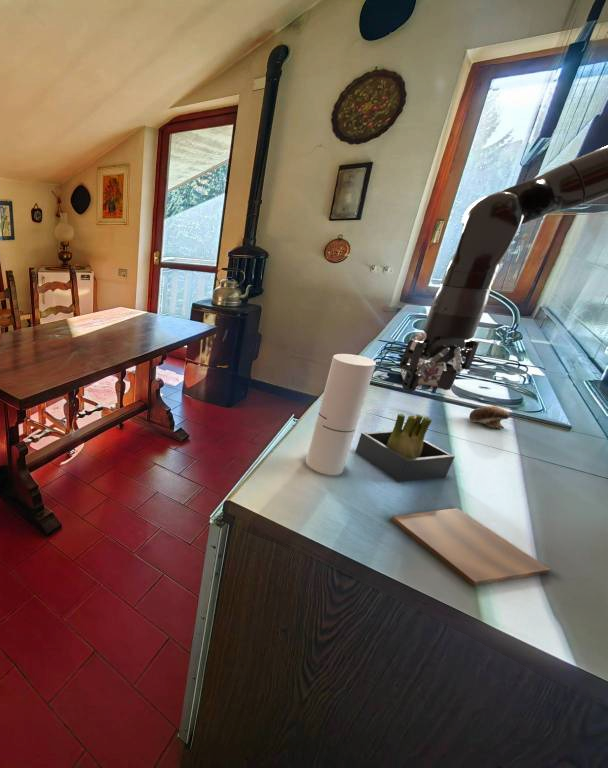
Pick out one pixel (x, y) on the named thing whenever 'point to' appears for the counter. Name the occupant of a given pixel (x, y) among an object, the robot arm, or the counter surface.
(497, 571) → the board
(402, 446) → the fennel bulb
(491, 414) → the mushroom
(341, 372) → the cylindrical container
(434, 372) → the decorative jar
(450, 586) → the counter surface
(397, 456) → the bin
